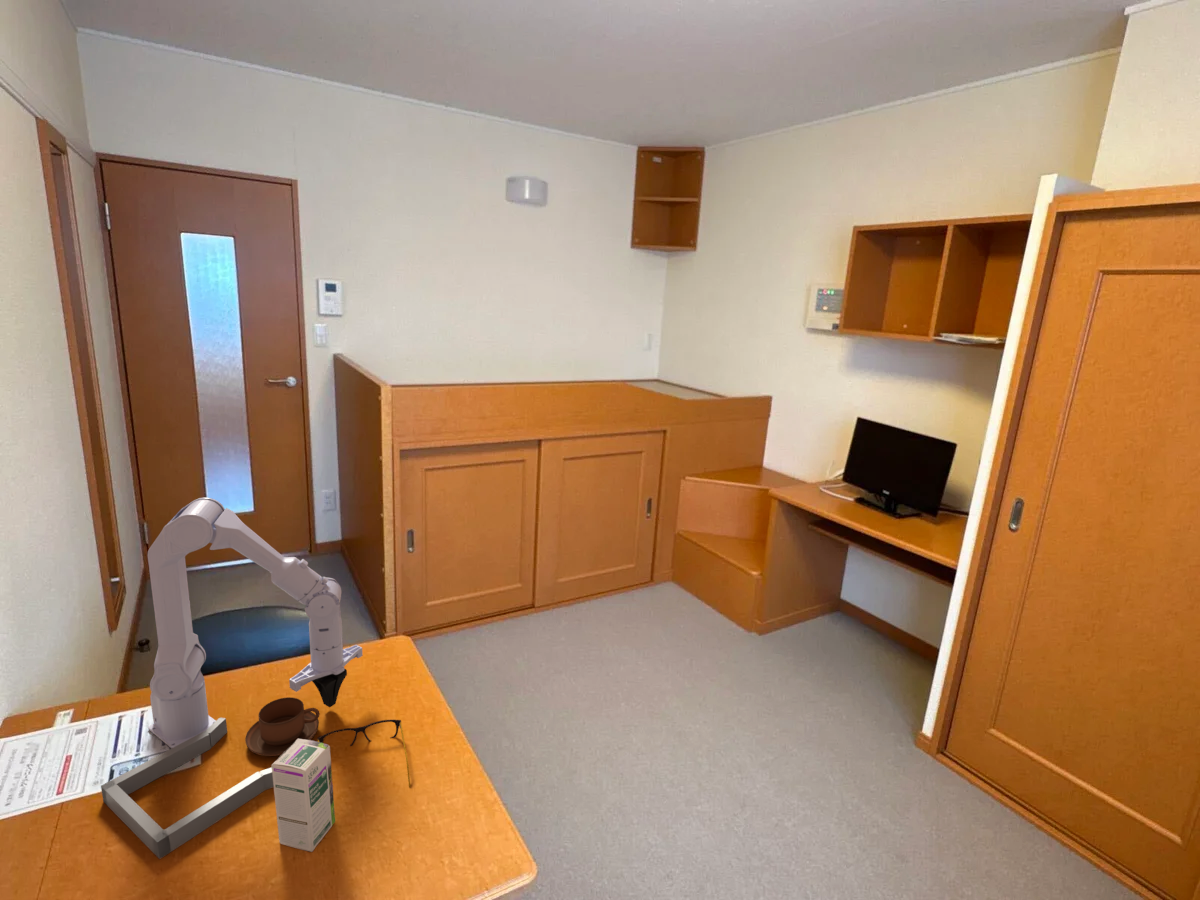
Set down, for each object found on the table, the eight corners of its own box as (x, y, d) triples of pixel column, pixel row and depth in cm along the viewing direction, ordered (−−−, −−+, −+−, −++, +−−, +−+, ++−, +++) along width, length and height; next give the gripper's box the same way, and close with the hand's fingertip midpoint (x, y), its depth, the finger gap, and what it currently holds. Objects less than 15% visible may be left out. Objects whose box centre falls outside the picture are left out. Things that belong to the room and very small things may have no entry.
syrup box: (312, 853, 91) (307, 771, 88) (277, 844, 92) (270, 762, 89) (336, 822, 97) (331, 743, 93) (302, 814, 98) (297, 736, 94)
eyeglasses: (400, 733, 117) (400, 715, 116) (410, 789, 104) (410, 769, 103) (318, 752, 111) (317, 733, 110) (318, 813, 99) (317, 792, 98)
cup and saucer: (305, 708, 122) (303, 681, 120) (329, 741, 114) (327, 712, 112) (237, 736, 114) (234, 707, 112) (258, 773, 105) (255, 742, 104)
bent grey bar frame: (99, 797, 98) (96, 781, 98) (224, 729, 115) (222, 716, 114) (164, 864, 88) (162, 847, 87) (292, 779, 104) (290, 765, 104)
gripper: (304, 667, 110) (308, 732, 113) (371, 633, 122) (373, 692, 125) (280, 654, 114) (285, 717, 117) (348, 621, 126) (351, 680, 129)
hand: (329, 703), depth 121 cm, fingers closed
